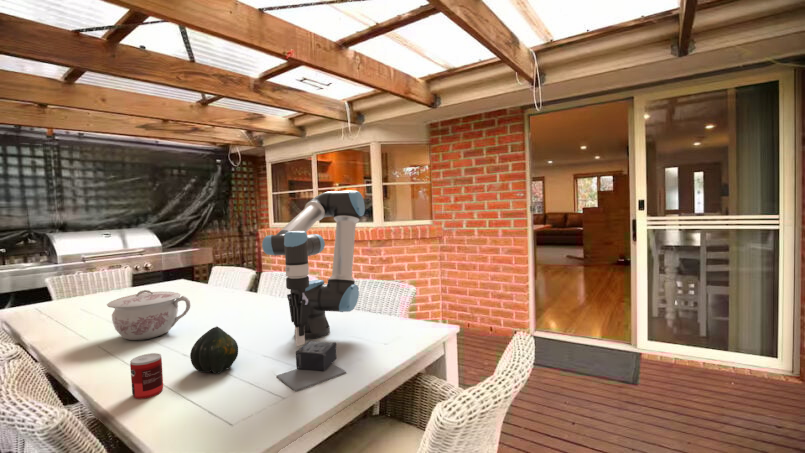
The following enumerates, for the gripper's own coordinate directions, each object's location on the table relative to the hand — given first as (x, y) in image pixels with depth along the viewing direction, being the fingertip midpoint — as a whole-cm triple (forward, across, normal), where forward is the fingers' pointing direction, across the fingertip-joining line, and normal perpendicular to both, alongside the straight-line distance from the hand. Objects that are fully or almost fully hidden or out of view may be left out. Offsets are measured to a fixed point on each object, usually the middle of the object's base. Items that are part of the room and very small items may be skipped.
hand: (300, 344), depth 128 cm
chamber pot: (+9, -83, -34) cm, 90 cm away
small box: (+5, -2, +2) cm, 5 cm away
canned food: (+9, -17, -42) cm, 46 cm away
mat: (+8, +8, 0) cm, 11 cm away
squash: (+9, -21, -22) cm, 32 cm away
